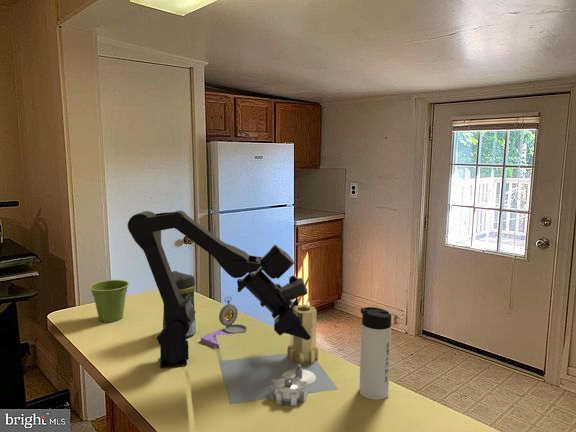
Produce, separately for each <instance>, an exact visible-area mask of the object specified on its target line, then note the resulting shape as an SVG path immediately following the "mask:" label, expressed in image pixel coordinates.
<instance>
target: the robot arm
mask: <svg viewBox="0 0 576 432" xmlns="http://www.w3.org/2000/svg"><path fill="white" fill-rule="evenodd" d="M127 229H128V232H129V234H130V235H131V237H132V239H133V241H134V242H135V243H136V244H137V246H138V247H139V248H140V249H141V250H142V251H143V253H144V255H145V258H146V260H147V263H148V266H149V268H150V269H149V270H150V271H151V275H152V276H153V279H154V282H155V285H156V288H157V290H158V291H159V295H160V297H161V298H160V299H161V300H162V304H163V311H164V320H165V326H164V328H163V327H162V329H161V331H160V332H159V333H158V335H157V336H156V340H157V342H158V344H159V346H160V347H159V349H160V350H159V351H160V353H159V354H160V356H159V357H160V358H159V368H162V369H164V368H172V367H182V366H186V365H188V360H189V358H190V357H189V340H187V338H186V336H185V335H186V334H187V333H188V331H189V329H190V327H191V325H192V324H193V322H194V314H195V315H196V313H197V312H196V310H195V308H194V309H193V307H192V303H191V299H188V300H186V301H185V300H184V299H183V298H182V297H181V295H180V293H179V290H178V288H177V285H176V282H175V279H174V277H173V274H172V272H173V271H172V269H171V267H170V266H171V265H170V263H169V262H168V258H167V255H166V254H165V251H164V247H163V245H162V244H163V243H162V231H165V230H171V229H175V230H176V231H178V232H180V233H181V234H182V235H184V236H185V237H186V238H188V239H189V240H190V241H191V242H193V243H195V244H196V245H197V246H198V247H200V248H201V249H202V250H204V251H205V252H207V253H208V254H209V255H211V256H212V257H213V259H215V260H216V262H217V264H218V265H220V267H221V268H222V269H223V270H224V271H225V273H227V274H228V275H229V276H230V278H231V277H232V278H234V279H237V280H236V284H237V290H236V291H237V292H238V293H241V291H242V290H243V289H245V288H246V289H247V290H248V291H249V292H250V293H251V294H252V295H253V296H254V297H255V298H256V299H257V300H258V301H259V302H260V303H259V305H260V306H261V308H266V309H267V310H268V311H269V312H270V313H271V317H272V318H273V319H274V321H273V322H274V324H273V331H274V332H276V333H277V335H278V336H282V335H283V334H287V335H290V336H291V335H293V336H296V337H299V338H302V339H305V340H309V339H310V338H311V336H310V335H309V334H308V332H307V331H306V329H305V328H304V327H303V325H302V324H301V322H300V321H299V318H300V316H299V312H298V313H297V311H296V310H295V309H294V308H292V307H294V306H297V305H299V299H298V298H300V297H304V296H306V295H307V294H308V288H307V286H306V284H305V282H304V280H303V278H301V277H299V278H298V276H296V275H295V274H293V275H291V276H290V277H288V278H289V279H288V282H289V283H286V284H285V285H283V286H282V285H281V284H279V283H275V282H274V281H273V279H274V280H275V279H280V278H281V277H282V276H283V275H284V274H285V273H287V271H288V270H289V269H291V268H292V266H294V264H295V261H294V259H292V257H291V256H290V255H289V253H287V252H286V251H285V250H283V249H281V248H280V247H279V246H278V245H277V244H273V246H272V247H271V248H270V249H269V251H268V252H267V253H265V254H264V255H263V257H262V256H256V255H251V254H250V255H249V254H248V253H247V252H246V251H244V250H242V249H240V248H238V247H236V246H234V245H231V244H228V243H227V242H224V241H222V240H221V239H220V238H218V237H217V236H215V235H214V234H213V233H212V232H210V231H209V230H208V229H206V228H205V227H203V226H202V224H199V223H198V222H197V221H196V220H194V219H192V217H190V216H188V214H187V213H186V212H185V211H183V210H176V211H171V212H169V211H167V212H160V213H154V212H152V211H149V210H144V211H141V212H138V213H136V214H133V215H132V216H131V217H130V218H129V220H128V222H127ZM242 277H243V278H242ZM293 300H294V301H293Z"/></svg>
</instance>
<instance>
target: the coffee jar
mask: <svg viewBox="0 0 576 432" xmlns="http://www.w3.org/2000/svg"><path fill="white" fill-rule="evenodd" d="M172 274H173V277H174V279H175V282H176V285H177V288H178V290H179V293H180V295H181V297H182V298H183V299H184V300H185V301H186V300H188V299H191V303H192V307H193V309H194V310H195V291H196V280H195V276H194V275H192V274H187V273H182V272H180V271H177V270H174V271H172ZM162 311H163V314H162V315H163V317H162V329H163V328H164V326H165V320H164V310H162ZM196 324H197V323H196V313H195V314H194V322H193V324H192V325H191V327H190V329H189V331H188V333H187V334H186V335H185V336H186V339H188V338H191V337H192V336H194V335H195V333H197V330H196V329H197V328H196V327H197V326H196Z"/></svg>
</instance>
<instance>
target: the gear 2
mask: <svg viewBox="0 0 576 432" xmlns="http://www.w3.org/2000/svg"><path fill="white" fill-rule="evenodd" d="M307 385H308V384H307V383H306V382H302V381H300V378H299V377H294V378H287V376H281V379H278V380H275V379H273V380H272V381H271V386H269V398H270V401H273V400H274V401H275V404H276V405H277V406H282V405H290V407H297V404H298V403H300V402H301V403H305V402H306V401H307V398H308V397H307V396H308V393H307Z"/></svg>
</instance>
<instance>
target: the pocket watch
mask: <svg viewBox="0 0 576 432" xmlns="http://www.w3.org/2000/svg"><path fill="white" fill-rule="evenodd" d="M227 298H228V296H226V297H225V298H224V302H226V303H227V304H225V305H224V306H223V307H222V308H221V309H220V311H219V313H218V314H219V315H218V319H219V322H220V324H221V325H222V326H225V327H224V332H225V333H227V335H228V334H229V335H234V334H244V333H246V332H247V331H248V329H247V326H245V325H244V324H237V323H236V324H234V323H235V322H236V320H237V318H238V314H239V313H238V312H239V311H238V308H237V306H236V305H234V304H232V303H231V301H232V296H229V298H230V299H229V298H228V299H227ZM226 299H227V300H226Z"/></svg>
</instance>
